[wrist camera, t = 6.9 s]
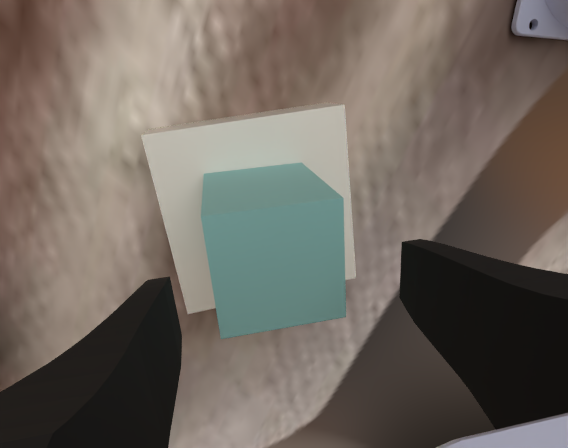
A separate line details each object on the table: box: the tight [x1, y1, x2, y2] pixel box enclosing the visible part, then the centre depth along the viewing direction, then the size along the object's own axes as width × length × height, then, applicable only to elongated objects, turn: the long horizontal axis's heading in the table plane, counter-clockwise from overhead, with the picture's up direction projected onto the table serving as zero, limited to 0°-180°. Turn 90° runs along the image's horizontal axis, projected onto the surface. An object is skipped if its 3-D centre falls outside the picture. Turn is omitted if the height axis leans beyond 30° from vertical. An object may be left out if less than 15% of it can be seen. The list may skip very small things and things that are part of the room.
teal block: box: [201, 162, 346, 339], centre depth 15 cm, size 4×4×6 cm
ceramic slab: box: [141, 102, 356, 314], centre depth 20 cm, size 9×9×3 cm
